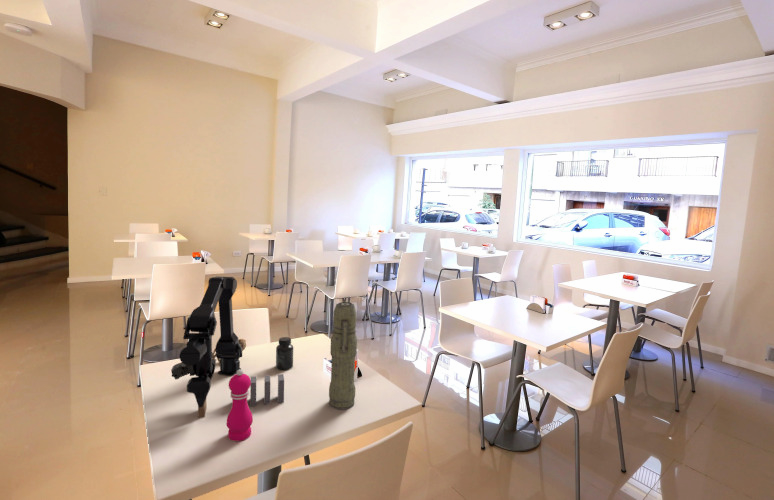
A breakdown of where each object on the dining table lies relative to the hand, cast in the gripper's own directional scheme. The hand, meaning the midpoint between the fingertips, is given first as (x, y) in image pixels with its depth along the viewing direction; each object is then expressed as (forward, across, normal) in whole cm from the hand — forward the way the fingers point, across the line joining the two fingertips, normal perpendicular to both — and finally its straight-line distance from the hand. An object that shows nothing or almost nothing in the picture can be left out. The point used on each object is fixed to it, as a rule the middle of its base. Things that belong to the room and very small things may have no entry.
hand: (202, 399), depth 130 cm
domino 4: (+4, -4, +24) cm, 25 cm away
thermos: (+4, +3, +44) cm, 45 cm away
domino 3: (+4, -4, +20) cm, 21 cm away
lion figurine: (+5, -42, +5) cm, 43 cm away
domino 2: (+4, -4, +15) cm, 16 cm away
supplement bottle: (+5, -31, +27) cm, 41 cm away
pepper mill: (+4, +16, +12) cm, 20 cm away
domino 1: (+4, 0, 0) cm, 4 cm away
